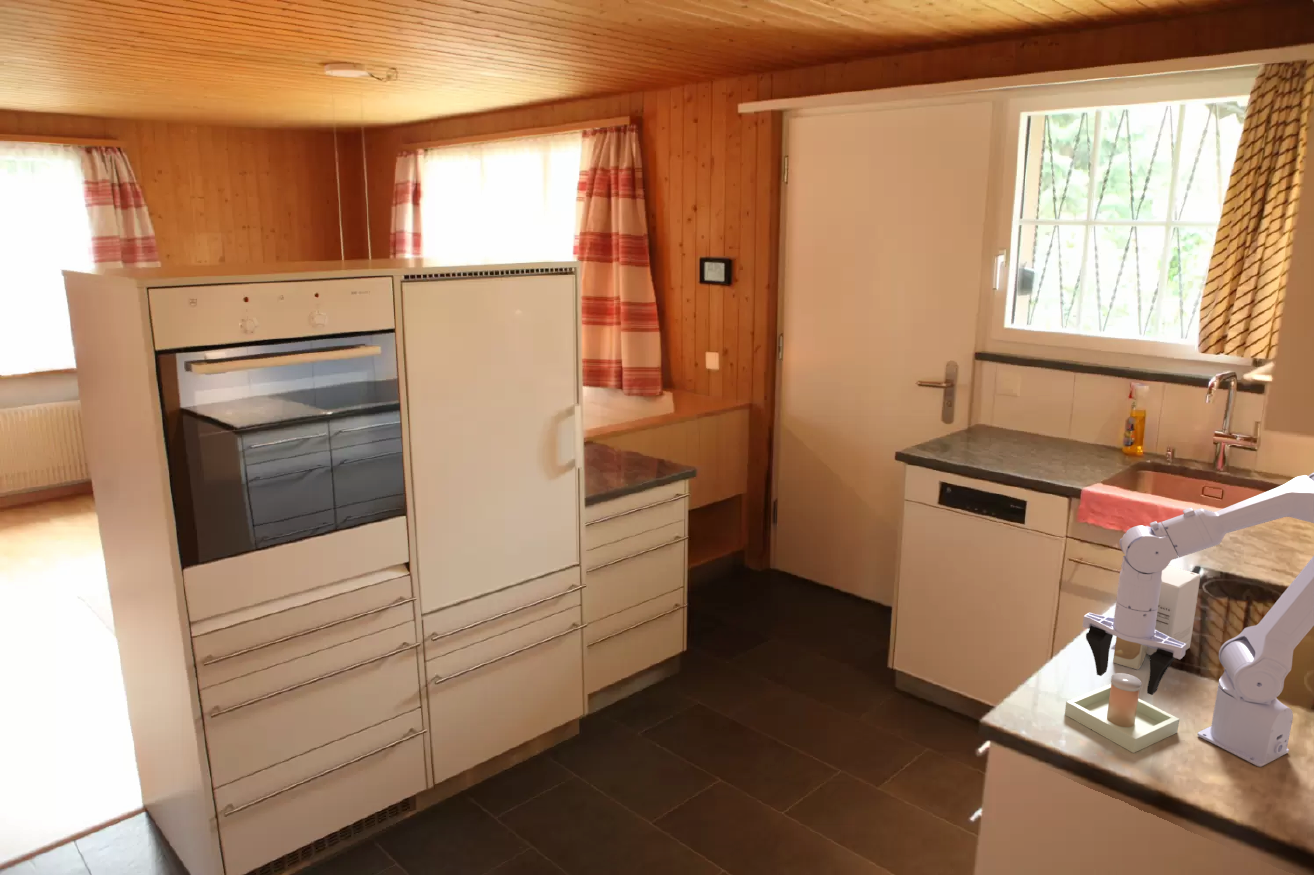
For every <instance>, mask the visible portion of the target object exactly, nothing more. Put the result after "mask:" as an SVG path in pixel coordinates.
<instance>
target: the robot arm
mask: <svg viewBox="0 0 1314 875" xmlns="http://www.w3.org/2000/svg"><path fill="white" fill-rule="evenodd" d="M1182 513H1183V514H1180V515H1177V516H1174V517H1172V518H1168V519H1166V520H1164V521H1163V520H1162V521H1160V522H1157V520H1155V521H1152V522H1149V525H1136V526H1133V527H1130V528H1129V529H1127V530H1126V533H1124V534H1123V535H1122V537H1121V538H1120V539H1119V547H1120V549H1121V551H1122V553H1123V554H1124V555H1123V556H1122V562H1121V565H1120V566H1121V568H1120V569H1121V570H1120V572H1119V576H1118V586H1117V592H1116V593H1117V594H1116V601H1115V607H1114V609H1115V610H1114V616H1113V617H1111V616H1105V615H1101V614H1097V613H1096V614H1095V613H1092V612H1087V613H1086V614H1085V615H1083V620H1082V628H1085V629H1089V630H1088V632H1086V633H1085V639H1086V641H1087V643H1088V645H1089V647H1090V650H1091V653H1092V656H1093V659H1094V664H1095V670H1096V671H1095V672H1096V675H1097V676H1099V677H1102V676H1103V675H1104V674H1106V673H1107V670H1108V666H1109V656H1110V649H1111V645H1112V640H1113V637H1114V636H1115V637H1119V638H1121V639H1123V640H1126V641H1130V642H1134V643H1138V644H1141V645H1144V646H1147V647H1150V648H1153V649H1156V650H1157V651H1156V652H1154V653H1153V654H1152V655H1149V678H1148V683H1147V690H1146V693H1147V694H1148V695H1151V696H1152V695H1154V694H1155V693H1157V691H1158V688H1159V685H1160V682H1161V680H1162V679H1163V677H1164V676H1165V673H1166V671H1167V670H1168V669H1169V667H1170V666H1171V665H1172V664H1173V662H1174V661H1175V659H1178V660H1181V659H1183V657H1185V655H1186V651H1187V650H1186V645H1187V644H1185V643H1183V642H1180V641H1177V640H1175V639H1173V638H1171V637H1169V636H1167V635H1165V634H1163V633H1161V632H1159V631H1157V630H1155V625H1156V618H1157V611H1158V604H1159V597H1160V590H1161V583H1162V579H1161V576H1162V570H1164V569H1165V568H1166V567H1167V566H1168V565H1170V563H1171V561H1173V560H1176V559H1179V558H1182V557H1185V556H1188V555H1190V554H1194V553H1198V552H1201V551H1204V550H1207V549H1209V548H1210V549H1211V548H1213V547H1215V546H1218V545H1220V544H1221V543H1222V541H1223V539H1224V538H1225V536H1226V535H1227V534H1230V533H1233V532H1236V531H1239V530H1243V529H1247V528H1251V527H1254V526H1255V527H1256V526H1258V525H1261V524H1265V523H1268V522H1269V523H1270V522H1272V521H1275V520H1280V519H1282V518H1283V519H1284V518H1286V517H1287V518H1292V519H1296V520H1299V521H1300V520H1301V521H1303V522H1307V523H1311V524H1314V472H1312V473H1310V474H1308V475H1306V474H1304V475H1299V476H1296V477H1294V478H1292V479H1291V480H1289V481H1287V482H1286V483H1284V484H1282V485H1279V486H1277V487H1275V488H1272V489H1270V490H1267V491H1265V492H1261V493H1259V494H1256V495H1255V496H1252V497H1250V498H1247V499H1244V500H1242V501H1239V502H1236V503H1234V504H1232V505H1229V506H1227V507H1224V508H1222V509H1219V510H1216V511H1212V510H1208V509H1205V508H1197V509H1195V510H1194V508H1192V507H1188V508H1185V509H1183V510H1182ZM1313 627H1314V555H1313V556H1312V557H1311V558H1310V560H1308V562H1307V563H1306V564H1305V566H1303V569H1301V571H1299V573H1298V575H1297V576H1296V577H1295V578H1294V579H1293V580H1292V582H1291V583H1290V584H1289V586H1287V588H1286V589H1285V590H1284V592H1283V593H1282V594H1281V595H1280V596H1279V598H1278V599H1277V600H1276V602H1275V603H1274V604H1273V605H1272V606H1271V607H1270V609H1269V610H1268V612H1267V613H1266V614H1265V615H1264V616H1263V618H1262V619H1260V621H1259V623H1258V624H1255V625H1251V626H1247V627H1244V629H1242V631H1241V632H1240V633H1239V634H1238V635H1236V636H1235V637H1232V638H1230V639H1228V640H1226V641H1225V642H1224V643H1222V645H1221V646H1220V648H1219V651H1218V660H1219V662H1220V664H1221V666H1222V667H1223V668H1224V669H1223V670H1224V671H1223V673H1222V675H1221V676H1220V678H1219V679H1218V685H1217V691H1216V696H1215V702H1214V708H1213V714H1212V720H1211V725H1210V726H1208V727H1206V728H1204V729H1202V730H1200V731H1198V732H1197V736H1198V737H1199V738H1201V739H1204V740H1205V741H1207V742H1210V743H1211V744H1213V745H1215V746H1218V747H1219V748H1221V749H1223V750H1225V751H1227V752H1229V753H1231V754H1233V755H1235V756H1237V757H1239V758H1241V759H1243V760H1244V761H1246V762H1249V763H1251V764H1253V765H1254V766H1257V767H1258V768H1259V767H1263V766H1266V765H1267V764H1269V763H1271V762H1273V761H1274V760H1276V759H1279V758H1280V757H1283V756H1284V755H1286V754H1287V753H1289V751H1290V749H1289V748H1288V745H1289V740H1290V735H1291V729H1292V725H1293V724H1292V723H1293V720H1294V715H1293V714H1294V713H1293V710H1292V709H1291V708H1290V707H1289V706H1287V705H1285V704H1284V703H1282V702H1281V701H1280V700H1279V699H1278V698H1277V697H1279V696H1280V694H1281V693H1282V692H1283V690H1284V686H1285V679H1286V677H1287V676H1288V674H1290V672H1291V671H1292V666H1293V658H1294V656H1293V655H1294V650H1295V649H1296V648H1297V646H1298V645H1299V644H1300V643H1301V641H1303V639H1304V638H1305V637H1306V635H1307V634H1308V633H1309V632H1310V631H1311V630H1312V628H1313Z"/></svg>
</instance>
